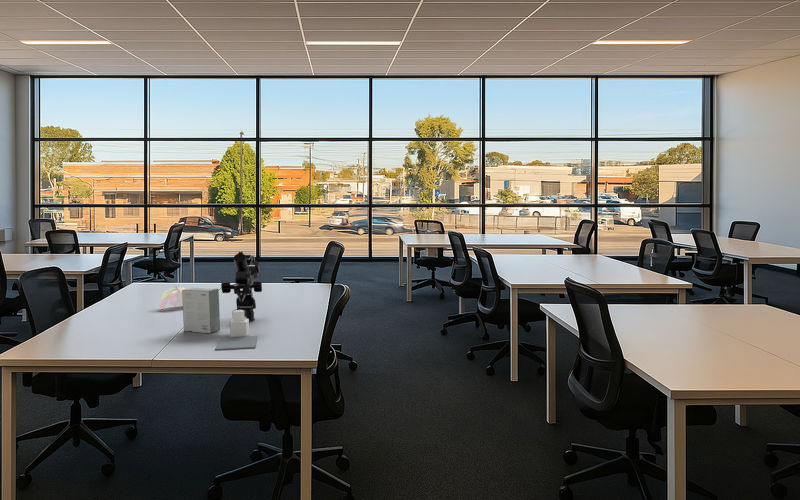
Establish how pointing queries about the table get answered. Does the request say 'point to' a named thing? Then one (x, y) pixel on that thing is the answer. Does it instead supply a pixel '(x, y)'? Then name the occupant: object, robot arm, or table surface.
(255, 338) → the mat
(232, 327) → the medicine bottle
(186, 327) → the hard drive box
